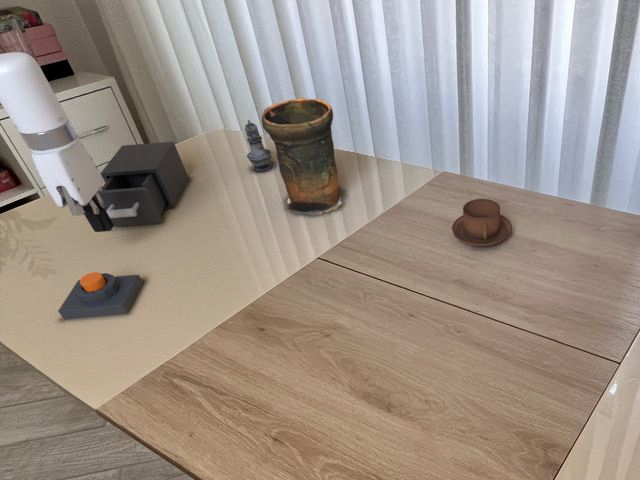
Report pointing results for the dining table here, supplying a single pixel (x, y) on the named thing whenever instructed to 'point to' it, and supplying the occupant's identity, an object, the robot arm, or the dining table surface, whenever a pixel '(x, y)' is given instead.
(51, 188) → the robot arm
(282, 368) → the dining table surface
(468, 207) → the cup and saucer
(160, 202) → the dark grey drawer
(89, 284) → the button
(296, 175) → the vessel
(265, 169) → the grey chess piece
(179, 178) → the small drawer cabinet
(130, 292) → the control block
